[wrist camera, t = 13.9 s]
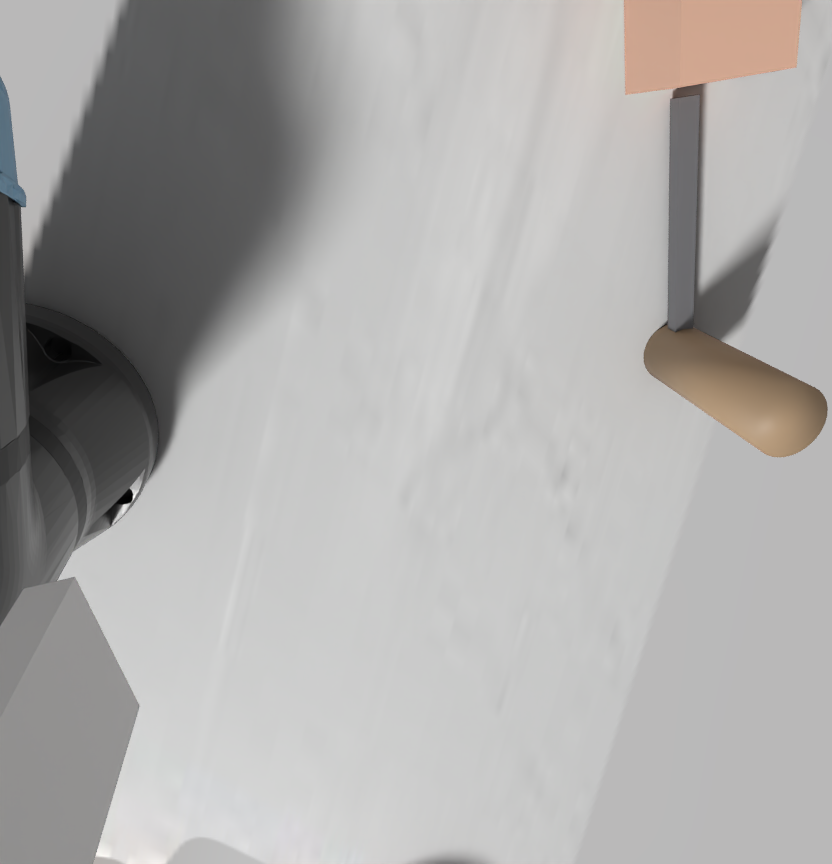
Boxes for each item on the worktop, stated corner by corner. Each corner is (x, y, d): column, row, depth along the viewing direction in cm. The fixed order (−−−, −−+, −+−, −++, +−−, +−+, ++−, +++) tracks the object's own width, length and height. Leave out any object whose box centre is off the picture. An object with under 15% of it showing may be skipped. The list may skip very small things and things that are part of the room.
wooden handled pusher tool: (629, 388, 45) (732, 468, 34) (623, -33, 34) (767, -110, 24) (713, 370, 45) (840, 444, 34) (731, -50, 35) (921, -133, 24)
